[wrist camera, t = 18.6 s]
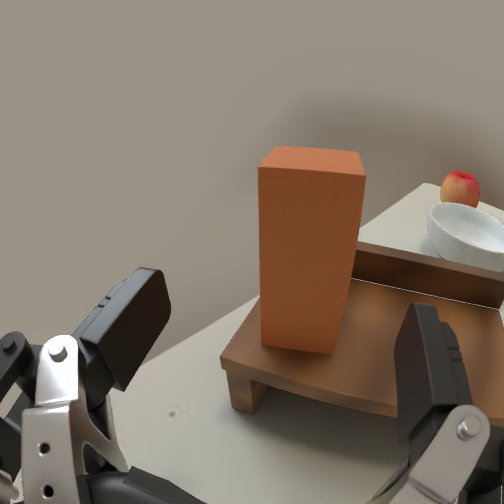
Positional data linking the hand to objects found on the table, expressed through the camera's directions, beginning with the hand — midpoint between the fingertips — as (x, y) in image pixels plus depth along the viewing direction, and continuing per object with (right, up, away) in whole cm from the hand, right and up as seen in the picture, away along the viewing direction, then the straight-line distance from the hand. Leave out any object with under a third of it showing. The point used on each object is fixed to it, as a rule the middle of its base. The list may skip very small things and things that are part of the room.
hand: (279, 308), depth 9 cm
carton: (+3, -3, +12) cm, 13 cm away
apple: (+45, +10, +47) cm, 66 cm away
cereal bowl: (+34, 0, +32) cm, 47 cm away
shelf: (+10, -11, +15) cm, 21 cm away
